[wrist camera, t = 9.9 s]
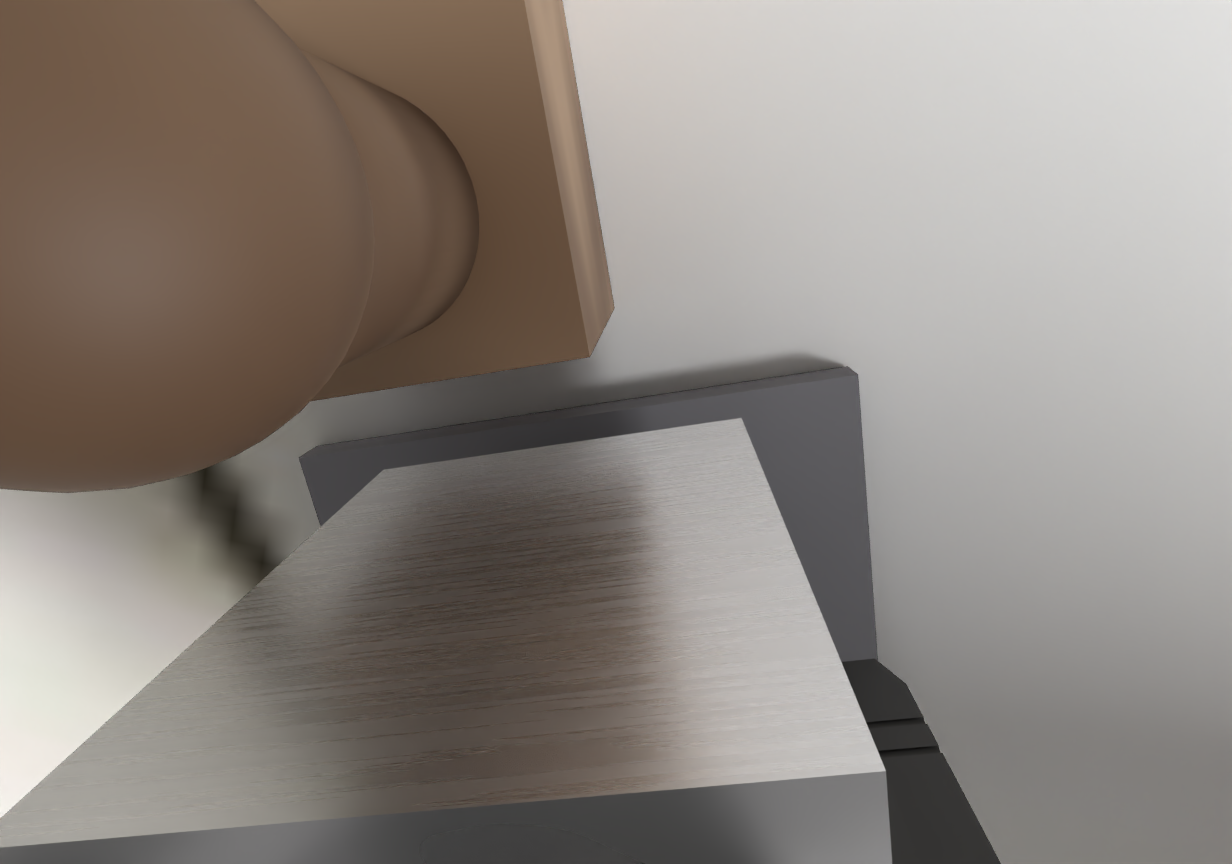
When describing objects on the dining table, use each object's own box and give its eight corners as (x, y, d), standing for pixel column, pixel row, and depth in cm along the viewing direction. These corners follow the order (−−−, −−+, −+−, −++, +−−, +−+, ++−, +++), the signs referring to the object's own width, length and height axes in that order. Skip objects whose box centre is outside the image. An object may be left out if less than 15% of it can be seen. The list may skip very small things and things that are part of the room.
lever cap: (382, 469, 9) (-160, 964, 3) (741, 417, 9) (934, 891, 3) (494, 851, 11) (293, 1616, 5) (791, 828, 11) (970, 1651, 5)
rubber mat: (316, 445, 12) (298, 457, 11) (847, 366, 11) (857, 374, 10) (418, 770, 14) (407, 794, 13) (873, 728, 13) (884, 752, 12)
